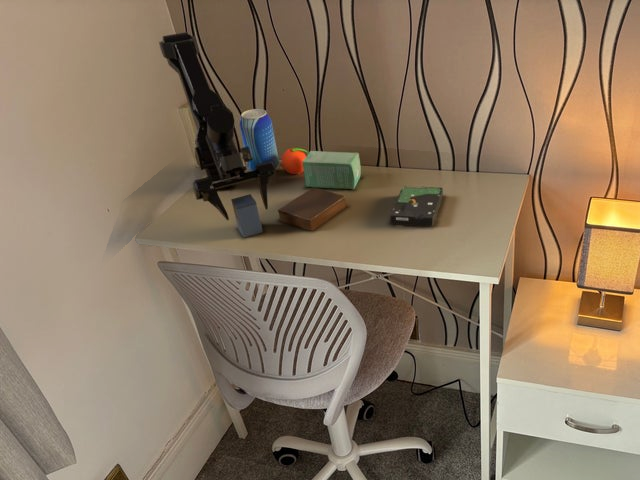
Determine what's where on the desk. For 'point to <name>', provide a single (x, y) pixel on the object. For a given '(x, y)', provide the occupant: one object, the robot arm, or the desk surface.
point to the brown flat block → (312, 208)
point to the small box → (247, 215)
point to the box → (331, 169)
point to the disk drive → (417, 206)
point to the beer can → (259, 137)
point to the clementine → (293, 160)
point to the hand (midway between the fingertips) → (247, 214)
